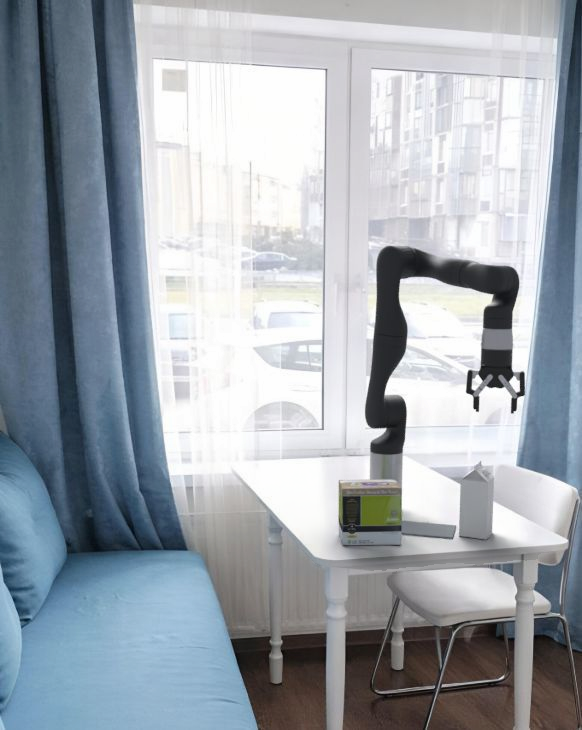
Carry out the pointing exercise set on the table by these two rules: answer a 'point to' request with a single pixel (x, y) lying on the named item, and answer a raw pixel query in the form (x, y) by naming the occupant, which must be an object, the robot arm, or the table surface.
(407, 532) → the mat
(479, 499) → the milk carton
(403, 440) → the robot arm
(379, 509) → the tea box
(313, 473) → the table surface
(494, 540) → the table surface
